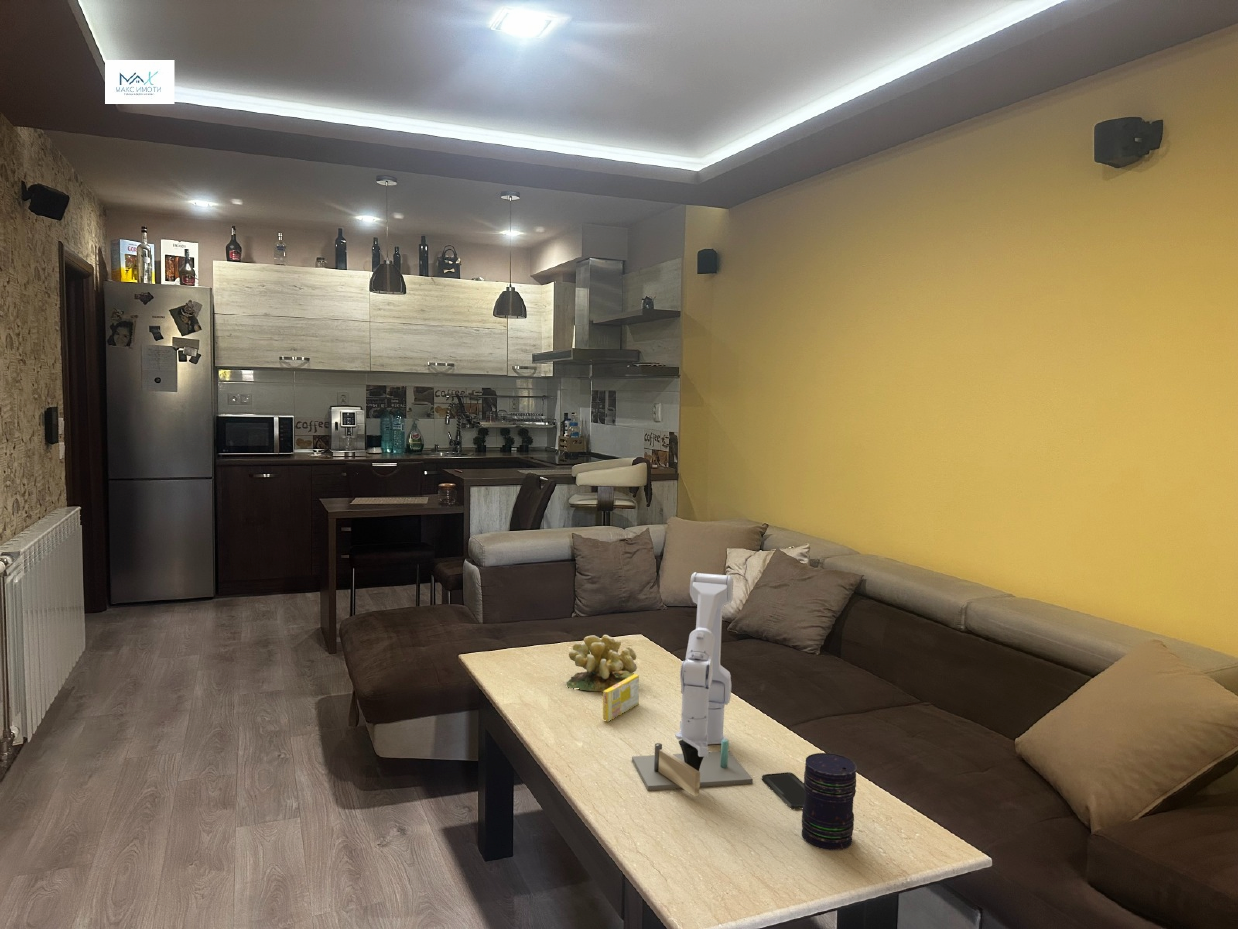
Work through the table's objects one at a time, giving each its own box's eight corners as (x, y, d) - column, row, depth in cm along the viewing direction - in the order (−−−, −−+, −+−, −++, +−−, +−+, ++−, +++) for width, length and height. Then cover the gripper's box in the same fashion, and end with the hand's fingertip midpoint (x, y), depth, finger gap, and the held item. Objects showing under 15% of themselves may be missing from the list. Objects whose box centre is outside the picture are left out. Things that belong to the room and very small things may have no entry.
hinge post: (653, 773, 189) (654, 743, 189) (659, 773, 190) (661, 743, 189) (654, 776, 188) (656, 746, 187) (661, 776, 188) (662, 746, 188)
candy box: (632, 702, 233) (633, 673, 233) (639, 704, 232) (640, 675, 231) (601, 721, 219) (602, 690, 219) (608, 723, 218) (609, 691, 218)
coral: (553, 680, 254) (549, 635, 251) (622, 664, 263) (619, 619, 260) (574, 707, 237) (570, 659, 234) (647, 689, 246) (644, 641, 242)
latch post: (719, 769, 193) (720, 739, 192) (725, 769, 193) (727, 739, 192) (721, 772, 191) (722, 742, 191) (728, 772, 191) (729, 742, 191)
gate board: (631, 760, 196) (632, 756, 196) (729, 754, 201) (729, 750, 201) (647, 790, 181) (647, 786, 181) (752, 783, 186) (752, 779, 186)
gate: (662, 770, 188) (663, 748, 187) (699, 795, 177) (700, 772, 176) (658, 771, 187) (659, 749, 187) (694, 796, 176) (695, 773, 176)
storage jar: (790, 836, 164) (794, 762, 163) (818, 819, 171) (822, 748, 170) (835, 857, 157) (840, 779, 156) (862, 839, 164) (867, 765, 163)
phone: (791, 772, 191) (825, 803, 177) (791, 776, 191) (824, 808, 177) (759, 775, 189) (791, 806, 174) (759, 779, 189) (791, 812, 175)
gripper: (667, 702, 188) (665, 761, 189) (686, 728, 174) (683, 791, 175) (698, 701, 190) (695, 759, 191) (719, 726, 175) (716, 789, 176)
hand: (692, 775), depth 183 cm, fingers closed
